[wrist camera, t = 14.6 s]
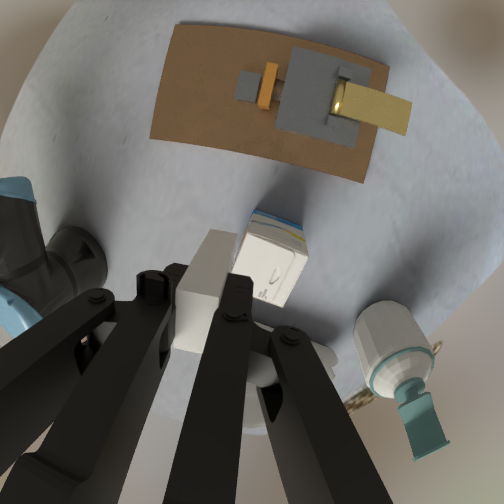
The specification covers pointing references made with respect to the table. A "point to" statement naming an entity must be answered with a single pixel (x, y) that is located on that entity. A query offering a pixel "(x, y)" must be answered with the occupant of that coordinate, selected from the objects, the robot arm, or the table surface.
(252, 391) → the teacup
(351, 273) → the table surface
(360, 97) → the tab
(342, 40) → the table surface
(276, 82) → the lynch pin
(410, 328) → the soap bottle
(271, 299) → the ink box
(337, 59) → the block
